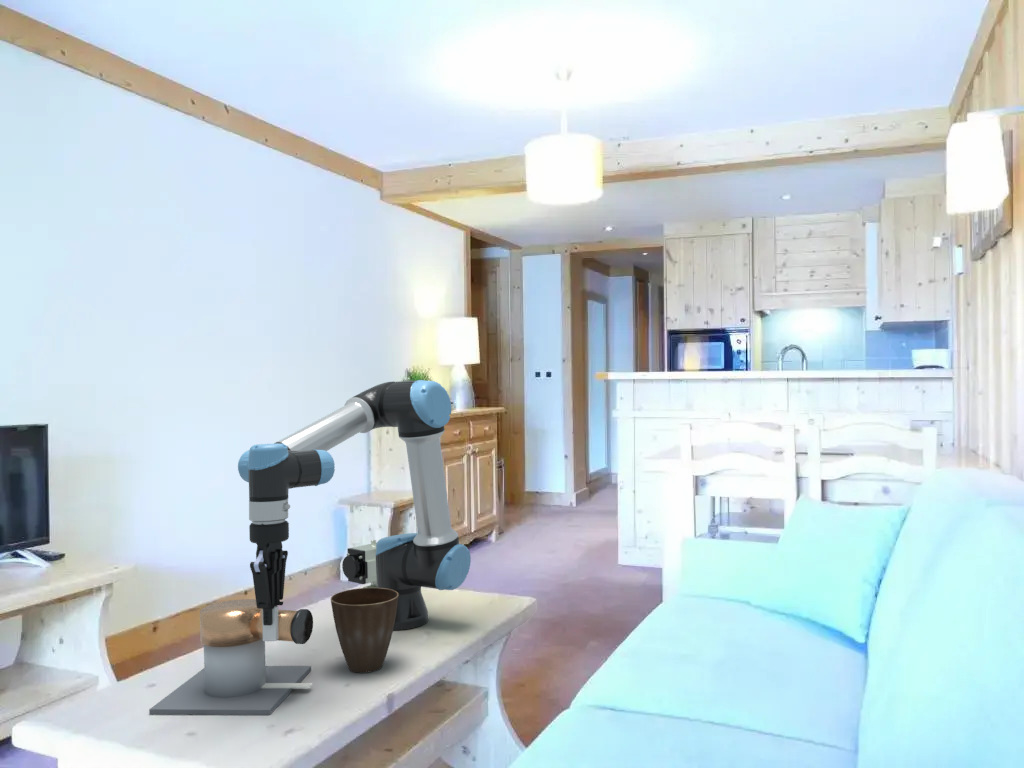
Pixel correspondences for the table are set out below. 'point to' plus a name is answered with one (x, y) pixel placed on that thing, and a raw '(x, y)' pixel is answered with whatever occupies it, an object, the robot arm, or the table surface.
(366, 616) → the plant pot
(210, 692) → the duct stub
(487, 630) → the table surface
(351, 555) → the ball valve
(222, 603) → the copper flat bottle shape
